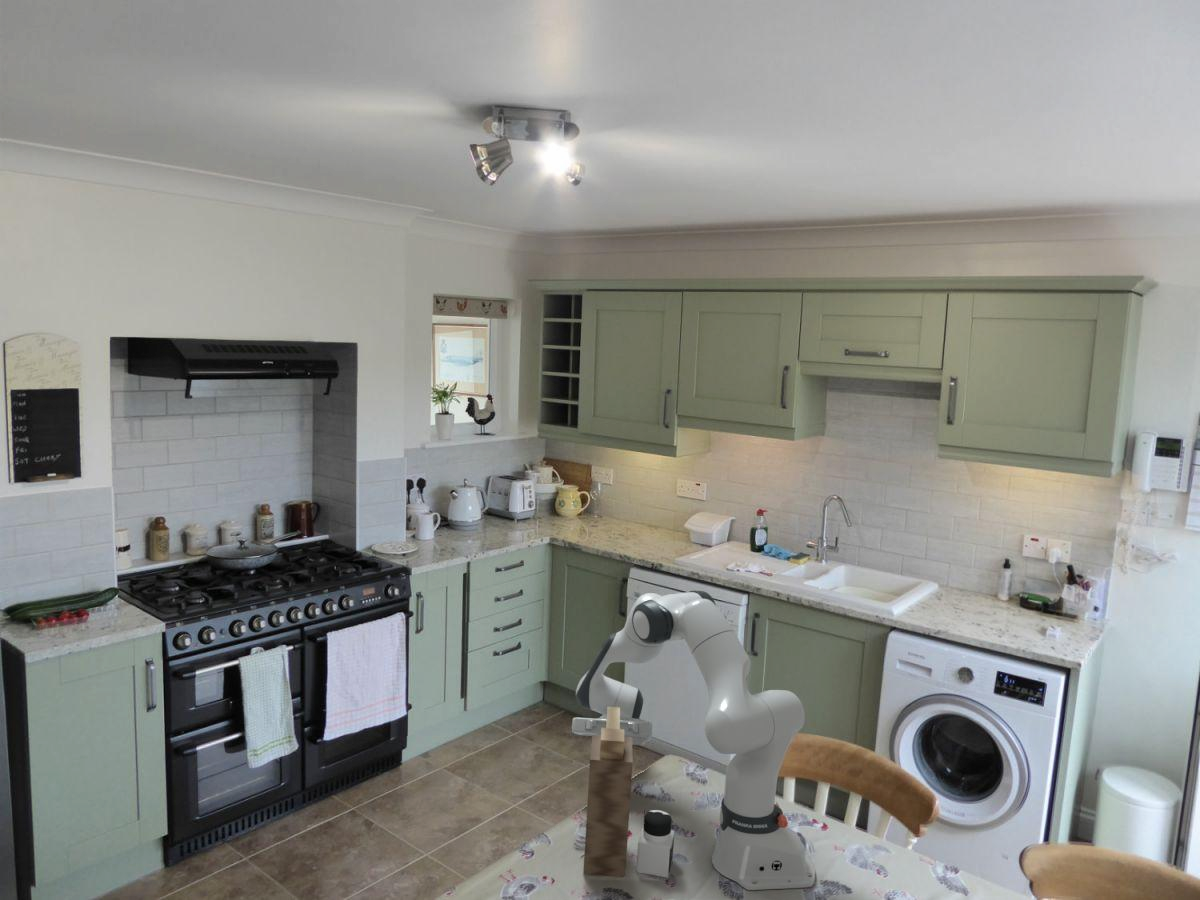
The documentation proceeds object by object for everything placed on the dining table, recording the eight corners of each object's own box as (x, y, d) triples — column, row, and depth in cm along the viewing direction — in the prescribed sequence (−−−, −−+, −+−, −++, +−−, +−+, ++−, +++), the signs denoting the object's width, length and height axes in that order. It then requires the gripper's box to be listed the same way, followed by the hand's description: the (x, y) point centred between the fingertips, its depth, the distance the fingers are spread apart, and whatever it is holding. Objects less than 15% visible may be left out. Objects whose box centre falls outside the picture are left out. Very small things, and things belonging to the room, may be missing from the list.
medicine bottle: (668, 878, 187) (672, 826, 186) (636, 872, 188) (639, 820, 187) (672, 859, 194) (676, 809, 193) (641, 854, 195) (644, 804, 194)
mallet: (623, 719, 204) (624, 703, 204) (623, 759, 184) (624, 741, 184) (602, 718, 204) (603, 702, 204) (599, 758, 185) (600, 740, 184)
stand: (625, 846, 198) (632, 737, 195) (625, 877, 186) (632, 762, 183) (585, 843, 199) (592, 734, 196) (583, 874, 187) (590, 759, 184)
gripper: (572, 715, 227) (571, 708, 215) (650, 720, 227) (653, 714, 214) (570, 740, 225) (569, 735, 212) (649, 745, 224) (652, 741, 212)
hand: (612, 724), depth 213 cm, fingers open, 8 cm apart
